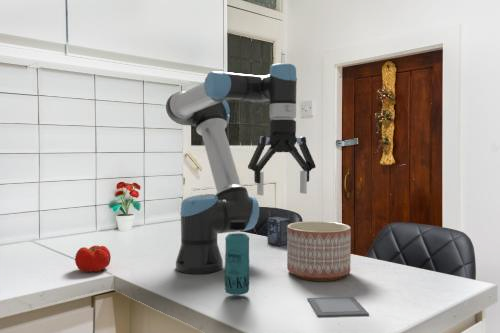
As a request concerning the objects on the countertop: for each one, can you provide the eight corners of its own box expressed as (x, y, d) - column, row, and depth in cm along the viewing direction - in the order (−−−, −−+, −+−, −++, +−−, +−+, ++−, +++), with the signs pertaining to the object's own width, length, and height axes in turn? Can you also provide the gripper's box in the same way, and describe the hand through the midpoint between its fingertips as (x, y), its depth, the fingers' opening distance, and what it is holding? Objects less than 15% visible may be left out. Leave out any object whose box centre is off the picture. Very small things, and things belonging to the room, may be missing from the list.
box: (267, 243, 182) (267, 217, 182) (277, 241, 186) (277, 216, 185) (280, 246, 176) (280, 220, 176) (290, 244, 180) (290, 218, 179)
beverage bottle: (224, 293, 119) (223, 218, 118) (249, 292, 120) (248, 218, 119) (224, 301, 113) (224, 222, 112) (251, 300, 113) (251, 222, 112)
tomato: (77, 276, 135) (77, 252, 135) (73, 268, 145) (73, 245, 144) (114, 272, 140) (113, 248, 140) (107, 264, 149) (107, 242, 149)
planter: (336, 287, 124) (337, 234, 124) (276, 276, 135) (276, 227, 134) (358, 271, 141) (359, 224, 140) (303, 263, 151) (303, 219, 150)
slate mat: (317, 316, 102) (317, 314, 102) (307, 299, 114) (307, 297, 114) (368, 315, 103) (369, 313, 103) (353, 298, 115) (353, 296, 115)
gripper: (246, 117, 119) (246, 197, 120) (327, 119, 128) (327, 193, 129) (236, 119, 126) (236, 194, 127) (314, 121, 135) (314, 191, 136)
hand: (282, 194), depth 128 cm, fingers open, 13 cm apart
